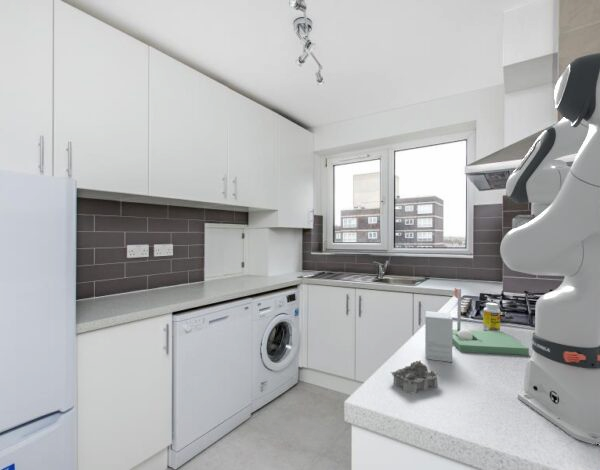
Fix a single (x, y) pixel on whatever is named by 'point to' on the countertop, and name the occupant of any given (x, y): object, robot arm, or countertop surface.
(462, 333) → the ball
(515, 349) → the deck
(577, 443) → the countertop surface
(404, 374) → the egg carton
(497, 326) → the supplement bottle
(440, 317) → the supplement box
